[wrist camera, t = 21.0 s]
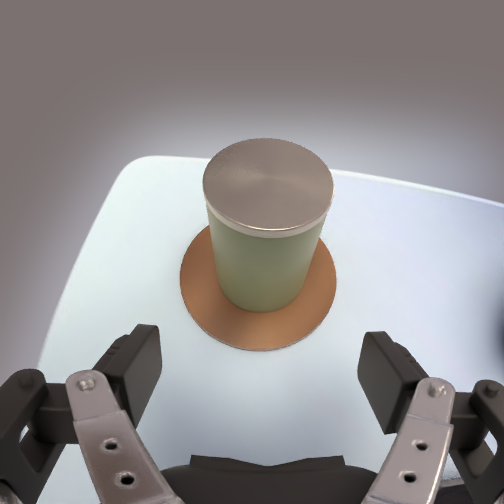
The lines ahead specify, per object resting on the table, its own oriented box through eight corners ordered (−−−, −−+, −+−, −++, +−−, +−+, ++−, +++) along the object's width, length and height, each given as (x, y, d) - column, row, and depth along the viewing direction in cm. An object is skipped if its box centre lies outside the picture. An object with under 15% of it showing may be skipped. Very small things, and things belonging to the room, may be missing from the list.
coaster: (160, 329, 20) (158, 326, 19) (206, 204, 26) (205, 200, 25) (325, 364, 19) (327, 363, 18) (339, 228, 25) (340, 224, 24)
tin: (206, 303, 20) (183, 216, 13) (228, 229, 24) (222, 131, 16) (298, 321, 20) (331, 243, 12) (309, 244, 23) (336, 149, 15)
